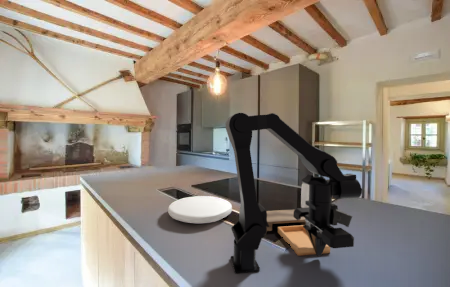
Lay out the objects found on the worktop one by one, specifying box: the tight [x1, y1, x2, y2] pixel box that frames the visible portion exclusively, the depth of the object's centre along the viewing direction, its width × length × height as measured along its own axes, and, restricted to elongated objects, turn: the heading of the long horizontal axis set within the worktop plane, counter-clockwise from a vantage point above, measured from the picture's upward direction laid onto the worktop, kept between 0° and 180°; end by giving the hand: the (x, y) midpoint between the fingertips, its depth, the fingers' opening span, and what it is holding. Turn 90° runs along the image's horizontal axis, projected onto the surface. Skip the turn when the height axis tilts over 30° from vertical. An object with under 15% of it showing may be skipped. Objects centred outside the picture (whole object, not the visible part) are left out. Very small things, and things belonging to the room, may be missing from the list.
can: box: [300, 181, 309, 208], centre depth 96 cm, size 6×6×12 cm
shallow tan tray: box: [277, 224, 331, 257], centre depth 66 cm, size 14×10×2 cm
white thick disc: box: [167, 195, 233, 225], centre depth 88 cm, size 28×6×27 cm
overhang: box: [266, 208, 306, 232], centre depth 79 cm, size 10×20×3 cm, turn 99°
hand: (318, 254), depth 57 cm, fingers closed
